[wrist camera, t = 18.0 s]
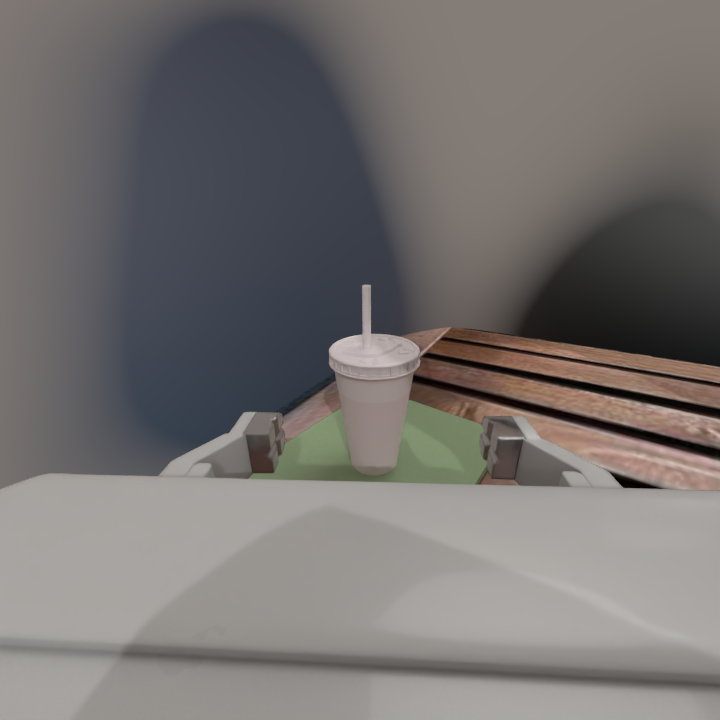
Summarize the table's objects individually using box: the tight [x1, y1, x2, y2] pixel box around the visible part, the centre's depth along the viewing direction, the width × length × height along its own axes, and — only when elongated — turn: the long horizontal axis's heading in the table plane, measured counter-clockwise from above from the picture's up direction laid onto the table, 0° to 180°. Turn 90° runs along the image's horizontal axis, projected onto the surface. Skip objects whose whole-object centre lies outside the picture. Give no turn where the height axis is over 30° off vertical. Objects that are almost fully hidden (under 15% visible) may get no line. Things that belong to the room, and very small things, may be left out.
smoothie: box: [329, 285, 420, 476], centre depth 24 cm, size 6×6×14 cm
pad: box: [248, 400, 488, 485], centre depth 27 cm, size 20×15×1 cm
